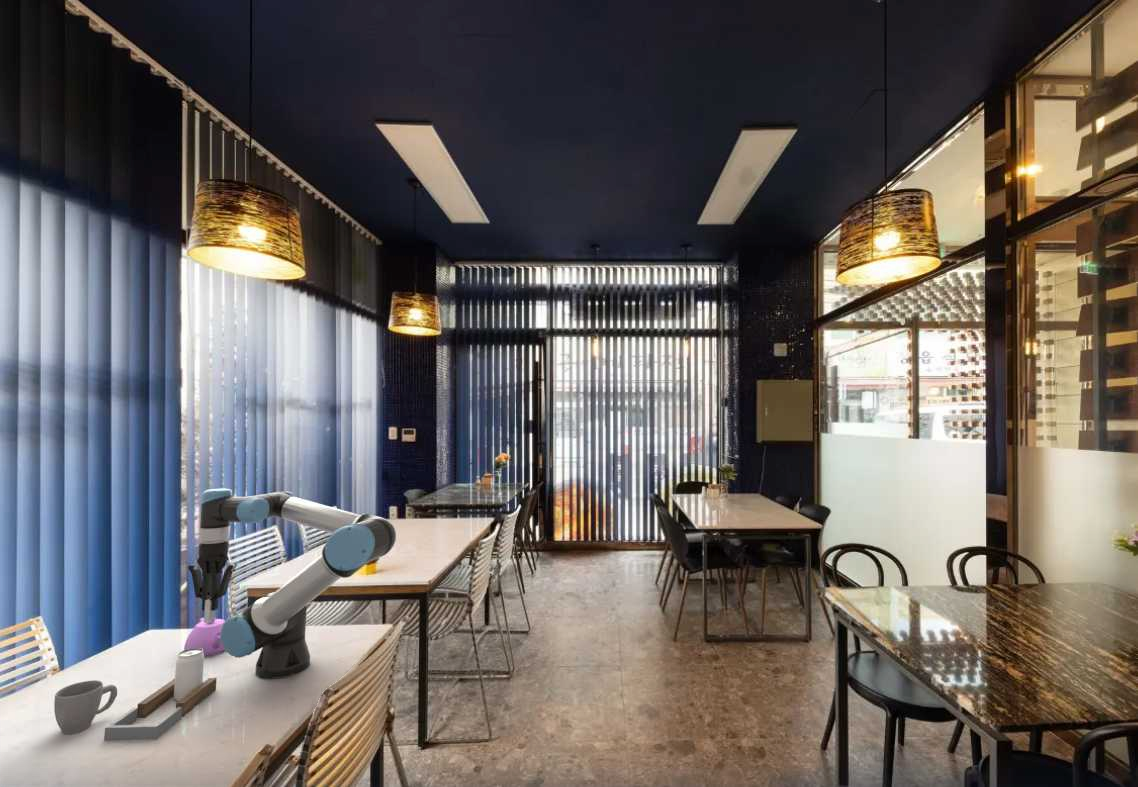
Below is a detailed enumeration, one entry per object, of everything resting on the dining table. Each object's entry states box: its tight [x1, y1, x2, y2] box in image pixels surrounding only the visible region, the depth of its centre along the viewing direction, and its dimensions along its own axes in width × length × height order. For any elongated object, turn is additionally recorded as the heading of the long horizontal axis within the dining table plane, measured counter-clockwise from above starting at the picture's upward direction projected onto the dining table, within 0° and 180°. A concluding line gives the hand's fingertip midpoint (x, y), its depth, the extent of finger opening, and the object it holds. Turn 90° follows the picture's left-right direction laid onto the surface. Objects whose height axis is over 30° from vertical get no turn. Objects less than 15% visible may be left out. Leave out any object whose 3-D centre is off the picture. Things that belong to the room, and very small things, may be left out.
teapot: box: [183, 616, 226, 658], centre depth 177 cm, size 14×20×11 cm
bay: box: [103, 707, 183, 742], centre depth 130 cm, size 12×9×3 cm
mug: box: [53, 680, 118, 736], centre depth 132 cm, size 12×9×10 cm
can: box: [173, 648, 205, 702], centre depth 147 cm, size 6×6×12 cm
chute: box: [136, 677, 217, 719], centre depth 142 cm, size 12×14×4 cm
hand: (209, 621), depth 156 cm, fingers closed
